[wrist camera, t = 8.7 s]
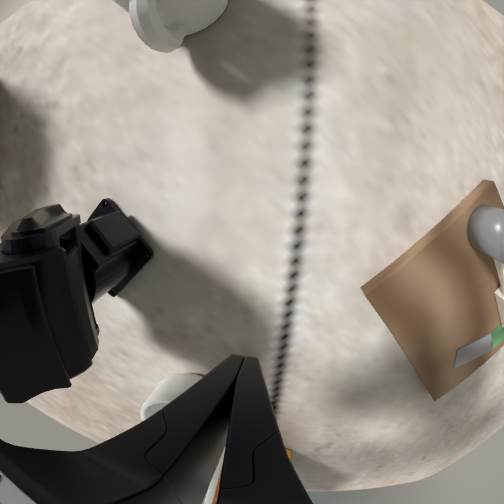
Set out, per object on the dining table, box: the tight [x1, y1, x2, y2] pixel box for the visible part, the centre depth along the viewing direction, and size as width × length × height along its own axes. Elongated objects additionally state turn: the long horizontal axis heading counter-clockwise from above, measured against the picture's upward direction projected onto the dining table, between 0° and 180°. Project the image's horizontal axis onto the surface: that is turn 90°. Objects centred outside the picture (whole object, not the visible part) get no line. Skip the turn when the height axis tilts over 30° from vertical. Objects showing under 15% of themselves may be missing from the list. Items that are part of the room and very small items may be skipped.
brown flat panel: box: [361, 180, 504, 401], centre depth 19 cm, size 14×17×2 cm
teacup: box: [141, 373, 203, 421], centre depth 23 cm, size 10×8×5 cm
